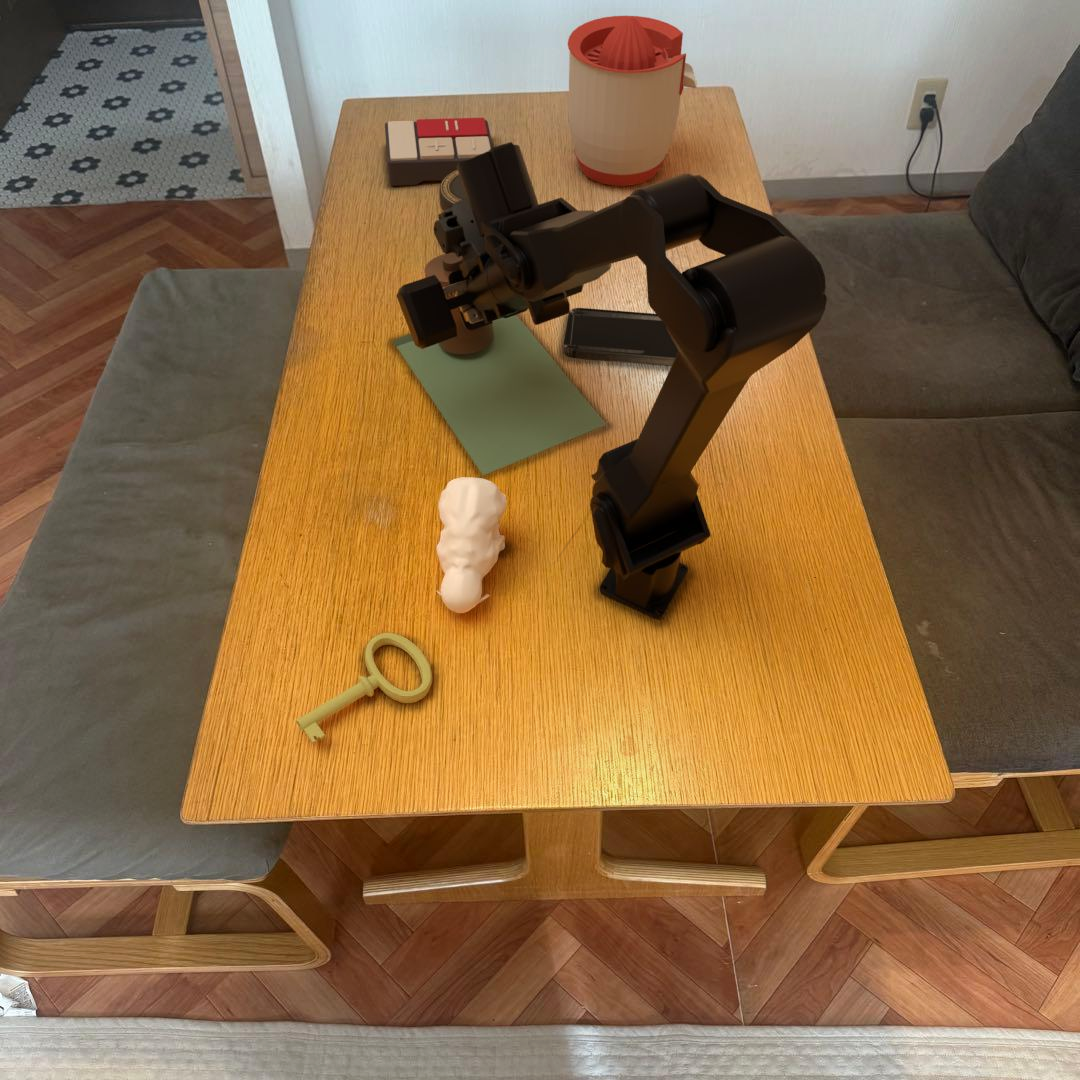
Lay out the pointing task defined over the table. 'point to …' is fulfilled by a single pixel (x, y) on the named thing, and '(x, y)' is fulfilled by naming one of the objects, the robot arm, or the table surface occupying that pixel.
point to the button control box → (432, 147)
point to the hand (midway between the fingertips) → (470, 302)
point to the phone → (618, 337)
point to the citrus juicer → (625, 96)
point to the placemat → (502, 396)
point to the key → (370, 685)
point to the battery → (465, 338)
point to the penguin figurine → (468, 539)
